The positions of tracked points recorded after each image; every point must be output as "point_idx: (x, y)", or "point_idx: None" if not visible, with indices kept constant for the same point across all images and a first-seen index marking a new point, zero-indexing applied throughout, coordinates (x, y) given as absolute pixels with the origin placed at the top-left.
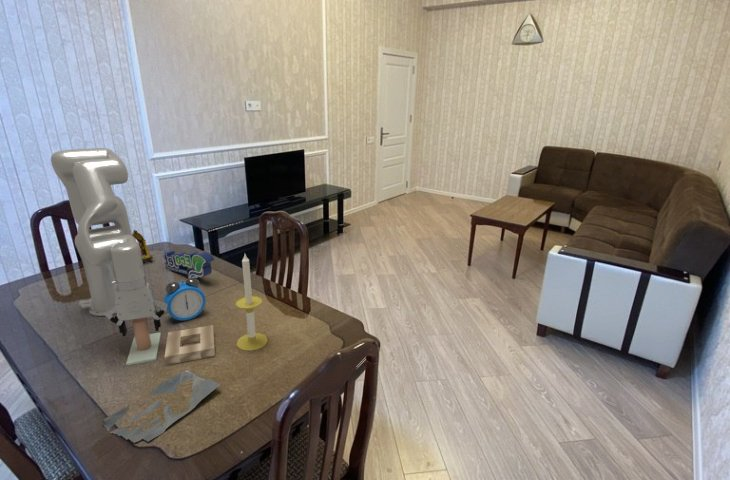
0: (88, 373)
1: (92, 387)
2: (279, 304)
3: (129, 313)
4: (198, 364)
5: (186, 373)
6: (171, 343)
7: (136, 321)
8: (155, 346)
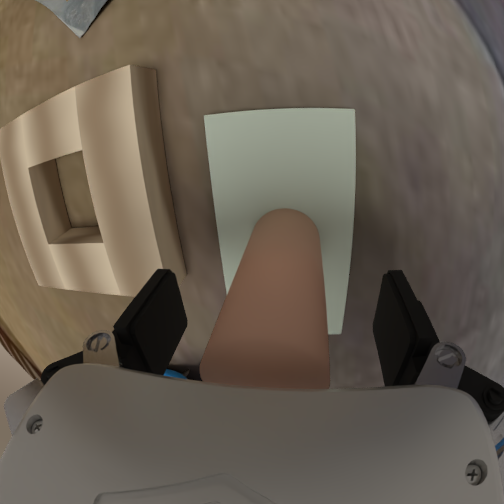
0: (489, 126)
1: (449, 16)
2: (4, 327)
3: (333, 498)
4: (52, 76)
5: (77, 16)
6: (123, 191)
7: (288, 371)
8: (229, 228)
